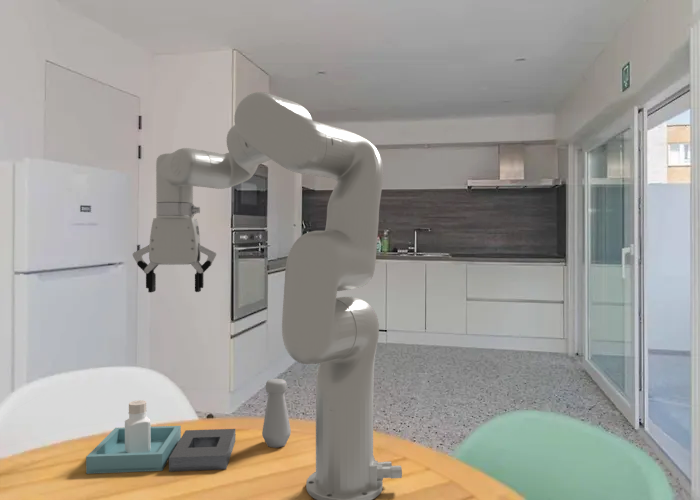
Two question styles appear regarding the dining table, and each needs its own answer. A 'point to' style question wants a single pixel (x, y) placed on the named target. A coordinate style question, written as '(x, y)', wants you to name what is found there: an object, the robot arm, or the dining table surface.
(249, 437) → the dining table surface
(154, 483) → the dining table surface
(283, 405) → the salt shaker
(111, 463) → the tray
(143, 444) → the pepper shaker
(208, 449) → the socket block
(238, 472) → the dining table surface
